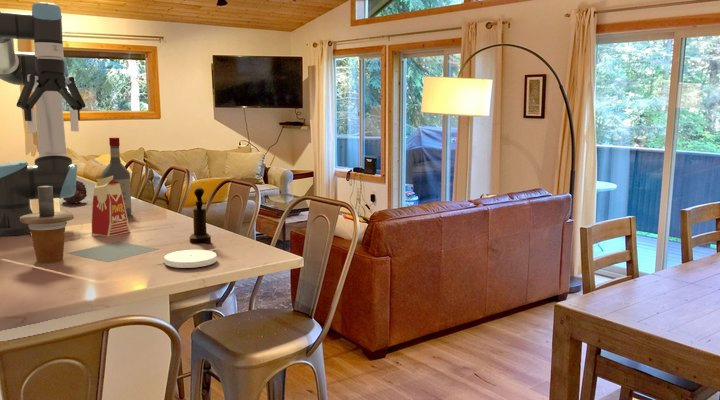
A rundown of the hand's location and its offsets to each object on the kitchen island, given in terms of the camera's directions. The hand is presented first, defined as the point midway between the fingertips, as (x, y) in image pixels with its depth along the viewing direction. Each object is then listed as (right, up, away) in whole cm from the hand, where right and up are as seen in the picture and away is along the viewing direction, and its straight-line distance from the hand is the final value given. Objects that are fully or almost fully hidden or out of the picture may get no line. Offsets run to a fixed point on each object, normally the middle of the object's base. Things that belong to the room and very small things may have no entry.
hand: (54, 132), depth 179 cm
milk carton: (+7, -32, +23) cm, 40 cm away
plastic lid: (+44, -38, -11) cm, 59 cm away
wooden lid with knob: (+5, -25, -14) cm, 30 cm away
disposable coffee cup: (+5, -37, -12) cm, 40 cm away
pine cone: (-33, -22, +83) cm, 92 cm away
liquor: (-4, -26, +57) cm, 63 cm away
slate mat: (+18, -36, -2) cm, 40 cm away
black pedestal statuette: (+40, -34, +12) cm, 54 cm away
